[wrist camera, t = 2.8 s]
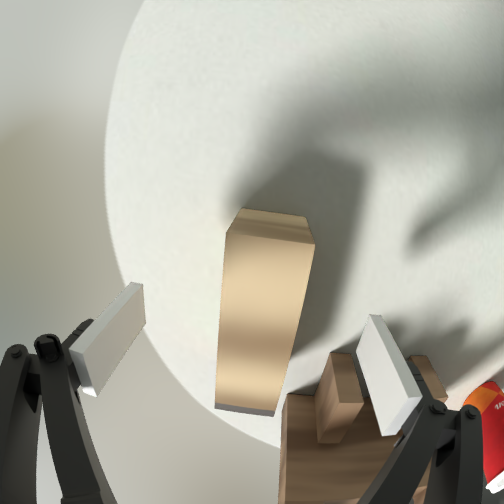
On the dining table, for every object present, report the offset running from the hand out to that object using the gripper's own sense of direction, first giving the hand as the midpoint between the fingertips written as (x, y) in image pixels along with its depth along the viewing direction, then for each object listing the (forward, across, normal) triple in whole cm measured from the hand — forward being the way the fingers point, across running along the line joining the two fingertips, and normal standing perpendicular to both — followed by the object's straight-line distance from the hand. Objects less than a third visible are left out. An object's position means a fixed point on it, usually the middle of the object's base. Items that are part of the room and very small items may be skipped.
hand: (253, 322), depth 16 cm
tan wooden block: (+6, 0, -2) cm, 7 cm away
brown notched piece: (+6, +12, -11) cm, 18 cm away
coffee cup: (+6, +32, -15) cm, 36 cm away
